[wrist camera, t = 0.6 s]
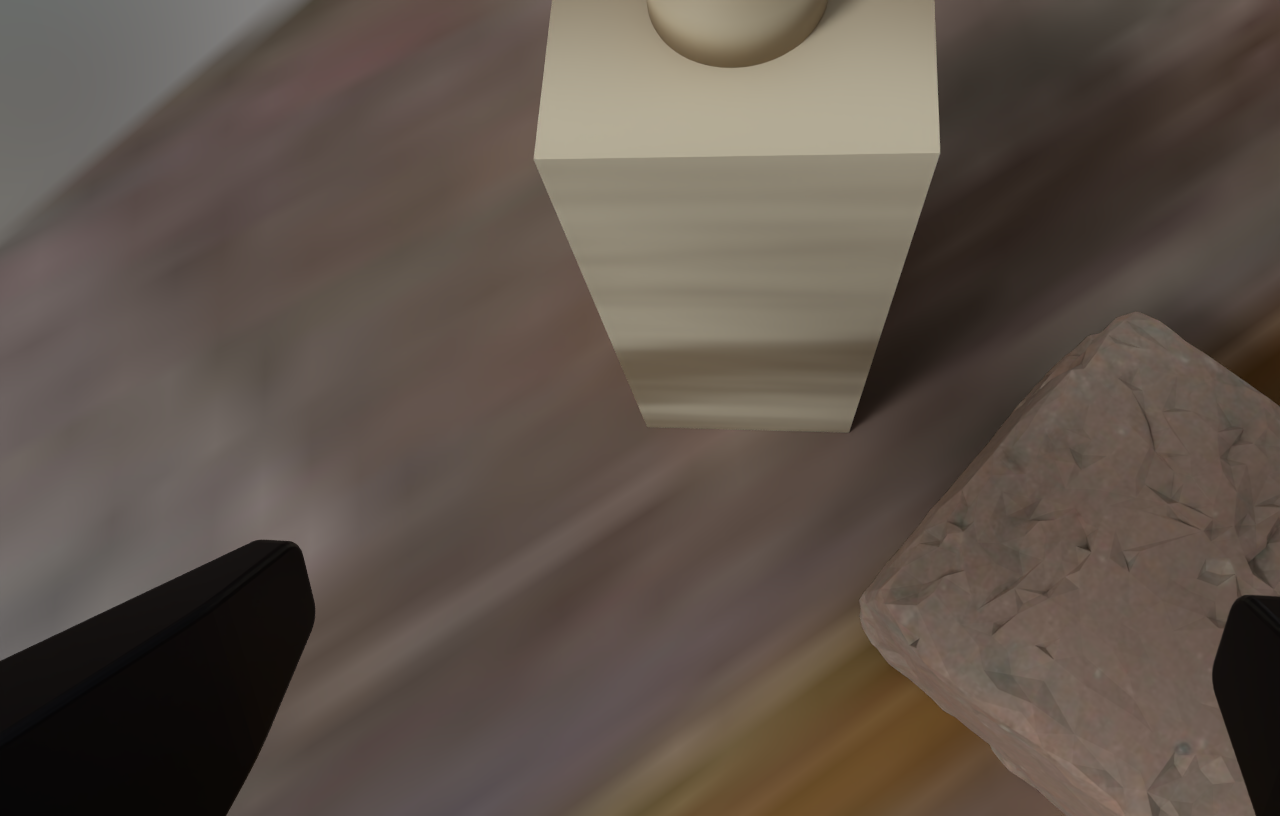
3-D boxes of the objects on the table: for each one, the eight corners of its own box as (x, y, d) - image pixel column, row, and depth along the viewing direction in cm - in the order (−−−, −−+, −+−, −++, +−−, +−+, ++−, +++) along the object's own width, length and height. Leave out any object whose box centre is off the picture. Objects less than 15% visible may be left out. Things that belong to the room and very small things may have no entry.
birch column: (848, 432, 22) (953, 112, 10) (647, 426, 23) (517, 121, 11) (848, 249, 24) (938, -223, 11) (658, 249, 24) (556, -195, 12)
